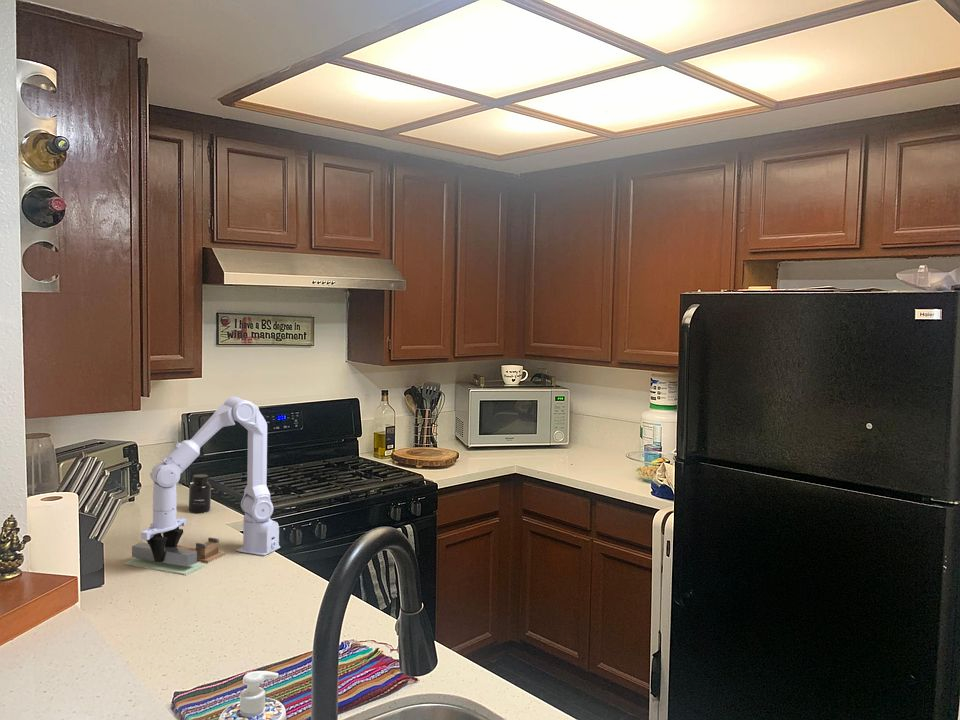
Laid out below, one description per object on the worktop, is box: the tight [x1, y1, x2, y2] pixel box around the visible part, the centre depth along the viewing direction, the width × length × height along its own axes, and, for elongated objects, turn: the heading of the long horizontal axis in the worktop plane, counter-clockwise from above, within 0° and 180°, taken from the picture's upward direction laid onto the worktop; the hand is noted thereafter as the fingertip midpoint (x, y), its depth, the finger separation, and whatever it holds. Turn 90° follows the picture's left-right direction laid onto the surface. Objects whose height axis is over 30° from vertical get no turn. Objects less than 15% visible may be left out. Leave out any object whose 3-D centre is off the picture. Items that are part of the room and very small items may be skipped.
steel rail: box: [131, 541, 198, 567], centre depth 193 cm, size 18×4×3 cm, turn 72°
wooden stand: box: [176, 537, 226, 564], centre depth 202 cm, size 20×7×5 cm, turn 72°
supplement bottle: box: [188, 473, 212, 514], centre depth 244 cm, size 7×7×12 cm
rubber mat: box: [123, 557, 205, 576], centre depth 193 cm, size 20×7×1 cm, turn 72°
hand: (164, 559), depth 193 cm, fingers closed on steel rail, 3 cm apart
